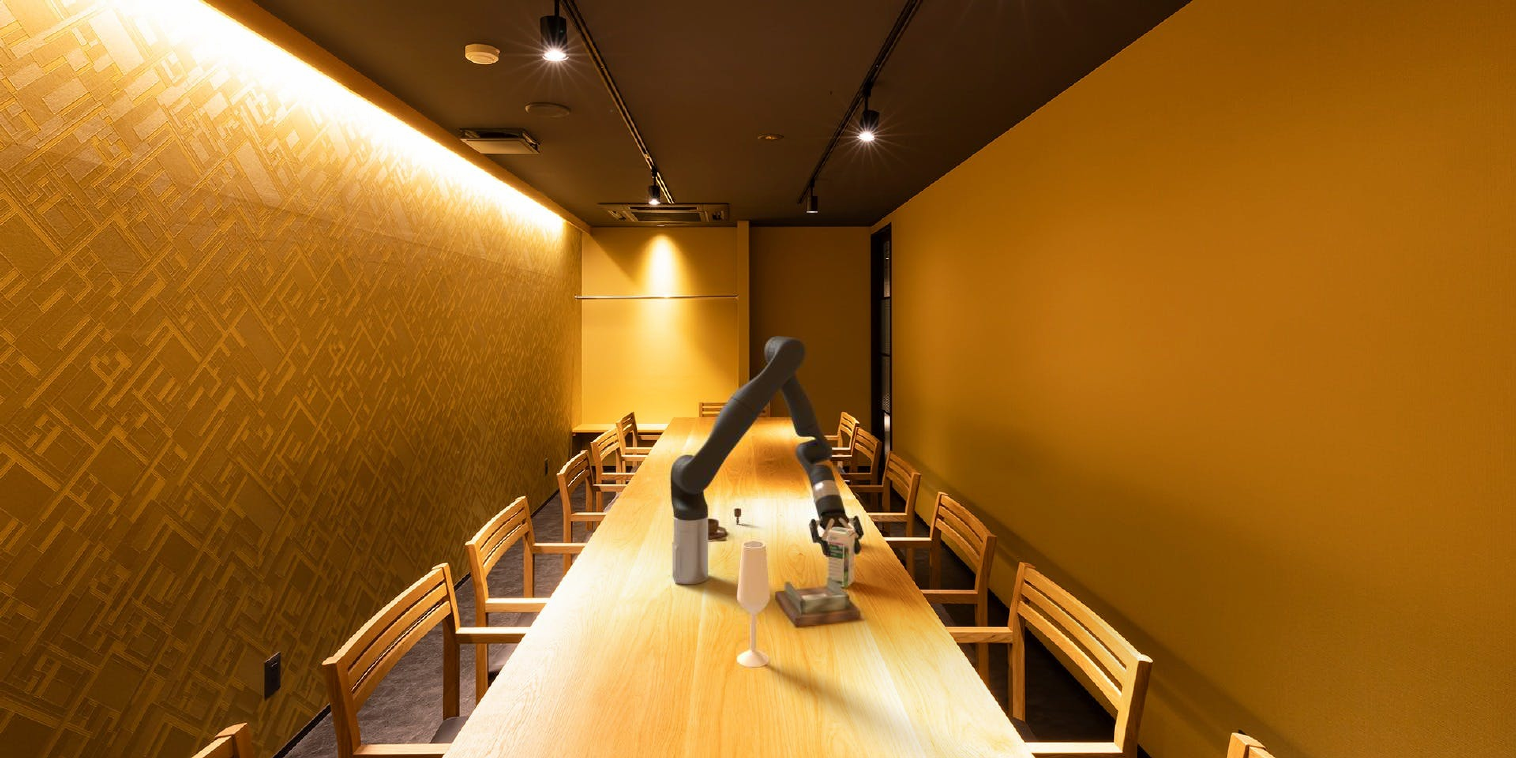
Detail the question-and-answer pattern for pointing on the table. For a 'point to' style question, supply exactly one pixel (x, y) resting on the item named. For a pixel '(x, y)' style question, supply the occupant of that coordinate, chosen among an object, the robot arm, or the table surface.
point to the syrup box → (841, 555)
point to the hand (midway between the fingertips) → (843, 554)
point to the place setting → (714, 527)
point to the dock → (817, 604)
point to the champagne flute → (753, 595)
